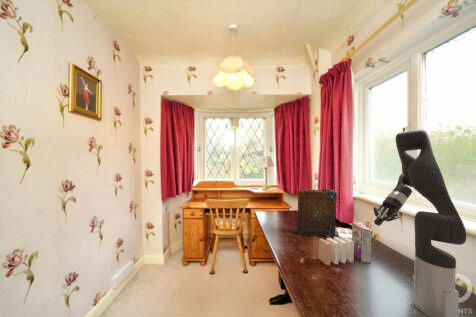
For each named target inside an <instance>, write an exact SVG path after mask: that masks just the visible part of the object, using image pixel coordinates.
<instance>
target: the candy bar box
mask: <svg viewBox="0 0 476 317" xmlns="http://www.w3.org/2000/svg"><path fill="white" fill-rule="evenodd" d="M351 225H352V226H351V230H352V241H354V256H355V257H356V258H357V259H358V260H359V261H360V263H365V264H372V251H373V250H372V246H373V241H372V240H373V230H371V229H370V228H369V227H368V226H367V225H365V224H364V223H362V222H358V221H352V223H351Z"/></svg>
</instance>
